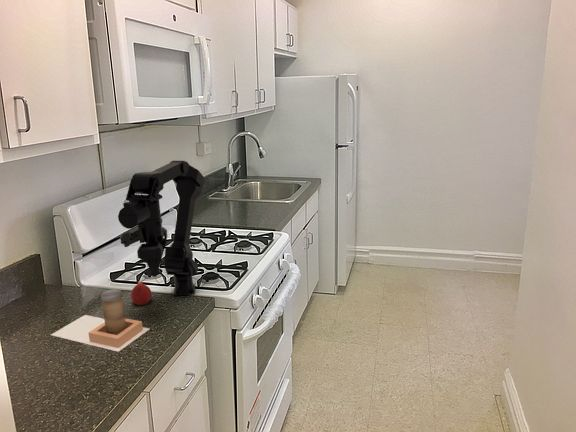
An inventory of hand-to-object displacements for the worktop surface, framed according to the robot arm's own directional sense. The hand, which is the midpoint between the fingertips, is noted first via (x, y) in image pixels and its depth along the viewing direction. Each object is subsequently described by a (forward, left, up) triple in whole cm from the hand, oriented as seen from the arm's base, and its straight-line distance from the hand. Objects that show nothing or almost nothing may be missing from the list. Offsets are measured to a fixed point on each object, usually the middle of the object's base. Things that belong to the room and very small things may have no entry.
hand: (156, 270), depth 140 cm
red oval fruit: (-5, -6, -13) cm, 15 cm away
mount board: (+11, -15, -13) cm, 23 cm away
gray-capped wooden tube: (+14, -10, -12) cm, 21 cm away
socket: (+14, -10, -12) cm, 21 cm away
